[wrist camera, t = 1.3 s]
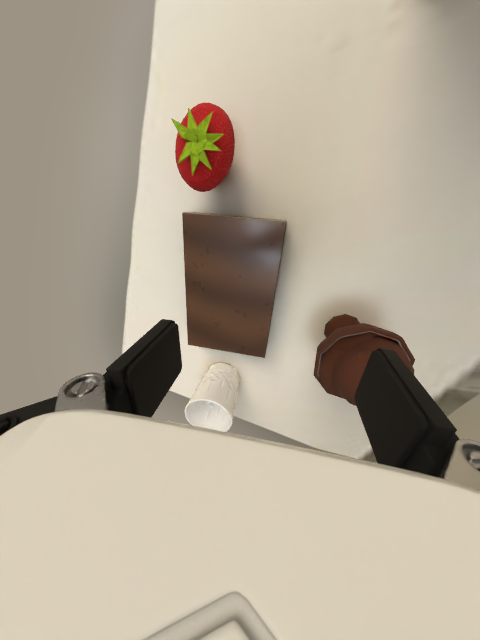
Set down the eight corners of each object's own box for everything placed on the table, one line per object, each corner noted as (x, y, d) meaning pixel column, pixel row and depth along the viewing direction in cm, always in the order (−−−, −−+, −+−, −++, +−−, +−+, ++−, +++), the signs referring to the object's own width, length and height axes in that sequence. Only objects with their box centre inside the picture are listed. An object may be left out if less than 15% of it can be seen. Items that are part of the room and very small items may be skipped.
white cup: (217, 394, 46) (202, 438, 37) (197, 367, 43) (175, 406, 35) (249, 384, 43) (241, 428, 34) (229, 354, 40) (214, 394, 32)
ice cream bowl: (304, 356, 38) (315, 434, 25) (311, 296, 33) (330, 353, 20) (370, 361, 36) (421, 448, 23) (388, 298, 31) (466, 362, 18)
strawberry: (188, 182, 29) (147, 169, 20) (208, 113, 25) (168, 61, 17) (228, 203, 29) (204, 200, 20) (253, 138, 26) (236, 99, 17)
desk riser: (193, 212, 30) (182, 212, 27) (286, 220, 29) (286, 221, 25) (196, 333, 40) (187, 344, 36) (266, 344, 38) (264, 358, 35)
